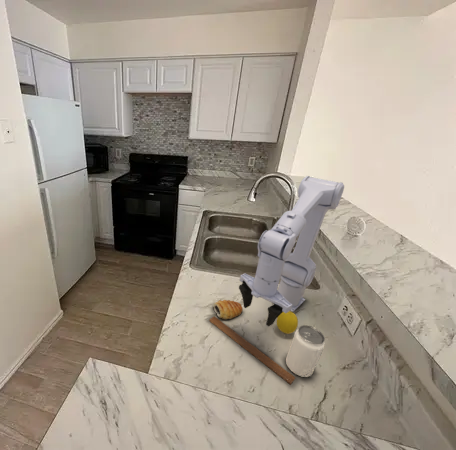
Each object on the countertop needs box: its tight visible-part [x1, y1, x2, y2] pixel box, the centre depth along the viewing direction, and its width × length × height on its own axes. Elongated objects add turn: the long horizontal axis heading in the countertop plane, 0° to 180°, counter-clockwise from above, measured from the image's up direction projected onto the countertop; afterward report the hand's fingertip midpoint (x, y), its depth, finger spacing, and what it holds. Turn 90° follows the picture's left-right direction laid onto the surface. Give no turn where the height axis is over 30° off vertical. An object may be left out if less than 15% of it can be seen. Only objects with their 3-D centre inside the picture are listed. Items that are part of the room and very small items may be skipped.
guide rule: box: [208, 316, 296, 386], centre depth 72 cm, size 2×26×1 cm, turn 39°
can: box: [285, 324, 326, 378], centre depth 65 cm, size 6×6×12 cm
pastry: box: [212, 299, 244, 320], centre depth 84 cm, size 9×7×4 cm
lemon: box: [276, 311, 299, 335], centre depth 76 cm, size 6×6×8 cm
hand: (257, 314), depth 70 cm, fingers open, 7 cm apart
